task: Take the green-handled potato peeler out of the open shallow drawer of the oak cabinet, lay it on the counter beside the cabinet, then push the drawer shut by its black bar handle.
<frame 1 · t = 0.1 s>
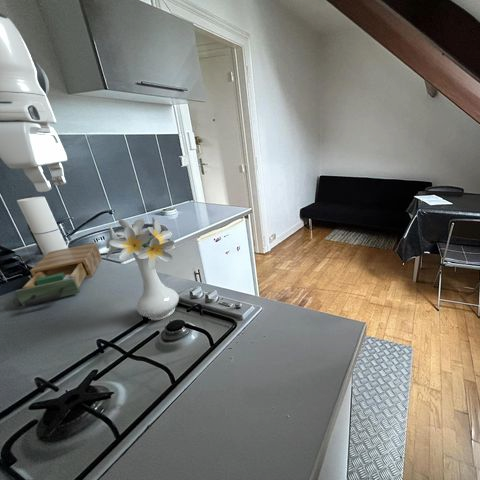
hand: (53, 187, 54), 34 cm above the worktop, tool pointing down, fingers open, 8 cm apart
flower vase: (165, 313, 68), on the worktop
cabinet: (74, 271, 94), on the worktop
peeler: (58, 284, 81), point 2 cm above the worktop, touching drawer
beer bottle: (53, 251, 114), on the worktop
cylindrical container: (60, 260, 104), on the worktop
drawer: (55, 283, 79), point 3 cm above the worktop, slide at 12.0 cm, touching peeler
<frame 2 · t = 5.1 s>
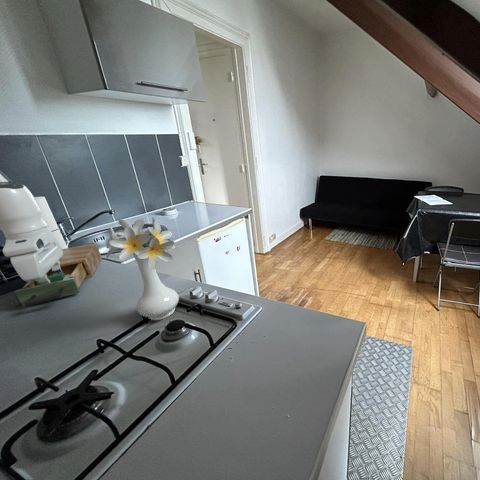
hand: (53, 280, 80), 4 cm above the worktop, tool pointing down, fingers open, 7 cm apart
nothing on the worktop moved.
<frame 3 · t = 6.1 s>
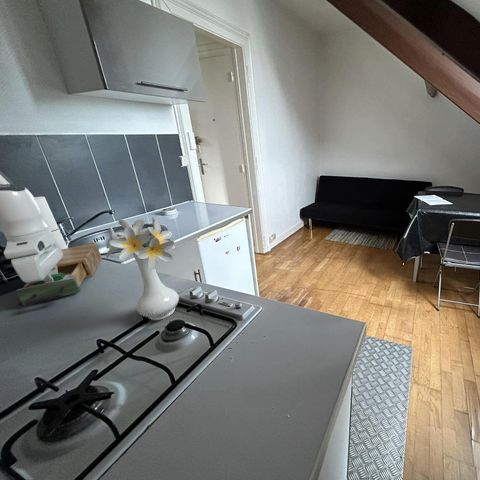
hand: (53, 282, 80), 3 cm above the worktop, tool pointing down, fingers closed on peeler, 2 cm apart
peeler: (58, 284, 81), point 2 cm above the worktop, touching drawer, gripper
drawer: (55, 282, 80), point 3 cm above the worktop, slide at 11.4 cm, touching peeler
everything else where it was.
when the fingers open (1 cm above the worktop, at t = 13.3 s): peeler stays where it is, on the worktop.
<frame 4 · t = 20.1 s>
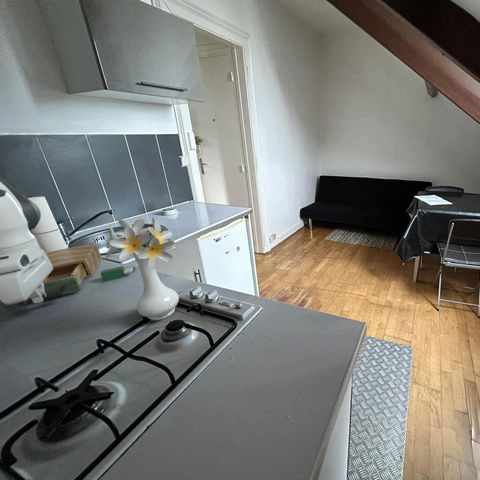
hand: (40, 300, 70), 4 cm above the worktop, tool pointing down, fingers closed
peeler: (119, 277, 88), on the worktop
drawer: (56, 281, 80), point 3 cm above the worktop, slide at 10.6 cm, touching gripper
everything else where it was.
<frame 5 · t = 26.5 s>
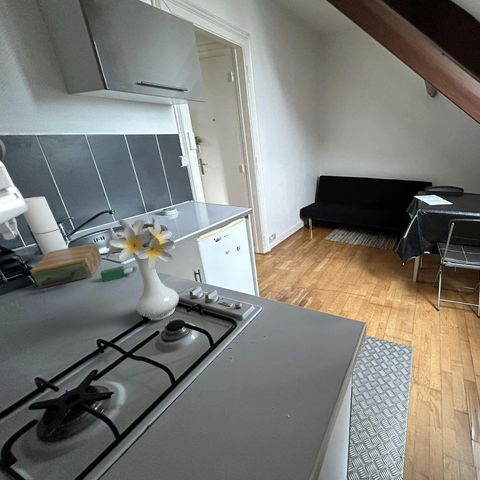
hand: (13, 237, 65), 21 cm above the worktop, tool pointing down, fingers closed
drawer: (67, 268, 89), point 3 cm above the worktop, slide at 0.0 cm, touching cabinet
everything else where it was.
at the end: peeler inside the target area (0.6 cm from its centre), on the worktop; the gripper is holding nothing; drawer slide at 0.0 cm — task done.
